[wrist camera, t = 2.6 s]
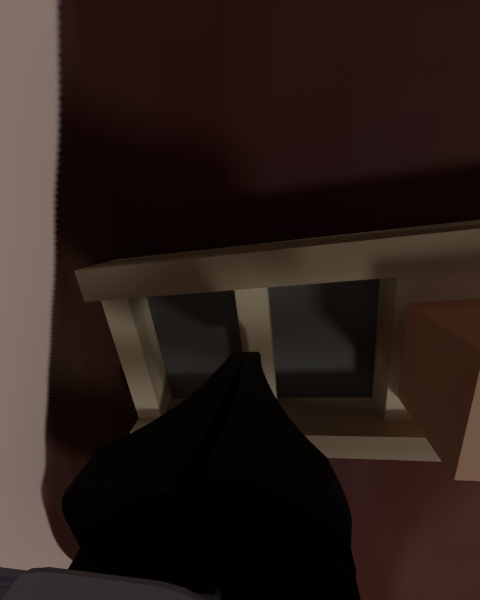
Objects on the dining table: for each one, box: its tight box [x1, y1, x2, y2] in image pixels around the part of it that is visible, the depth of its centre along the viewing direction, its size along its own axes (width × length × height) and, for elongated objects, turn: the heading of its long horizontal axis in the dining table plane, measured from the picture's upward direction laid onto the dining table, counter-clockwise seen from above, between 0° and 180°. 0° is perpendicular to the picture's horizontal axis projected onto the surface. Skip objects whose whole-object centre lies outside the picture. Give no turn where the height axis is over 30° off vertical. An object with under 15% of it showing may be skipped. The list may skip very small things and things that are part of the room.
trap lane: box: [74, 220, 480, 461], centre depth 12 cm, size 11×30×3 cm, turn 97°
